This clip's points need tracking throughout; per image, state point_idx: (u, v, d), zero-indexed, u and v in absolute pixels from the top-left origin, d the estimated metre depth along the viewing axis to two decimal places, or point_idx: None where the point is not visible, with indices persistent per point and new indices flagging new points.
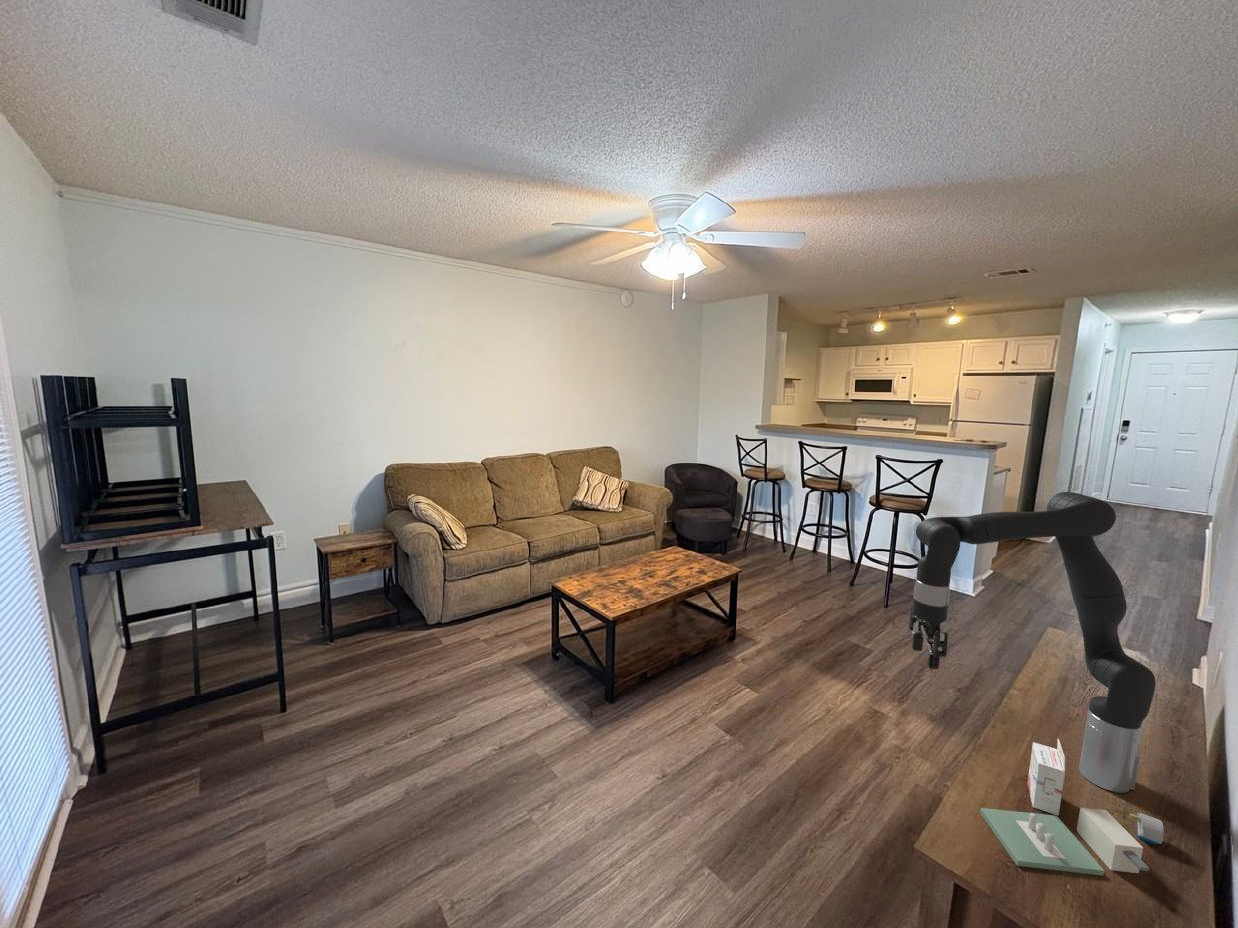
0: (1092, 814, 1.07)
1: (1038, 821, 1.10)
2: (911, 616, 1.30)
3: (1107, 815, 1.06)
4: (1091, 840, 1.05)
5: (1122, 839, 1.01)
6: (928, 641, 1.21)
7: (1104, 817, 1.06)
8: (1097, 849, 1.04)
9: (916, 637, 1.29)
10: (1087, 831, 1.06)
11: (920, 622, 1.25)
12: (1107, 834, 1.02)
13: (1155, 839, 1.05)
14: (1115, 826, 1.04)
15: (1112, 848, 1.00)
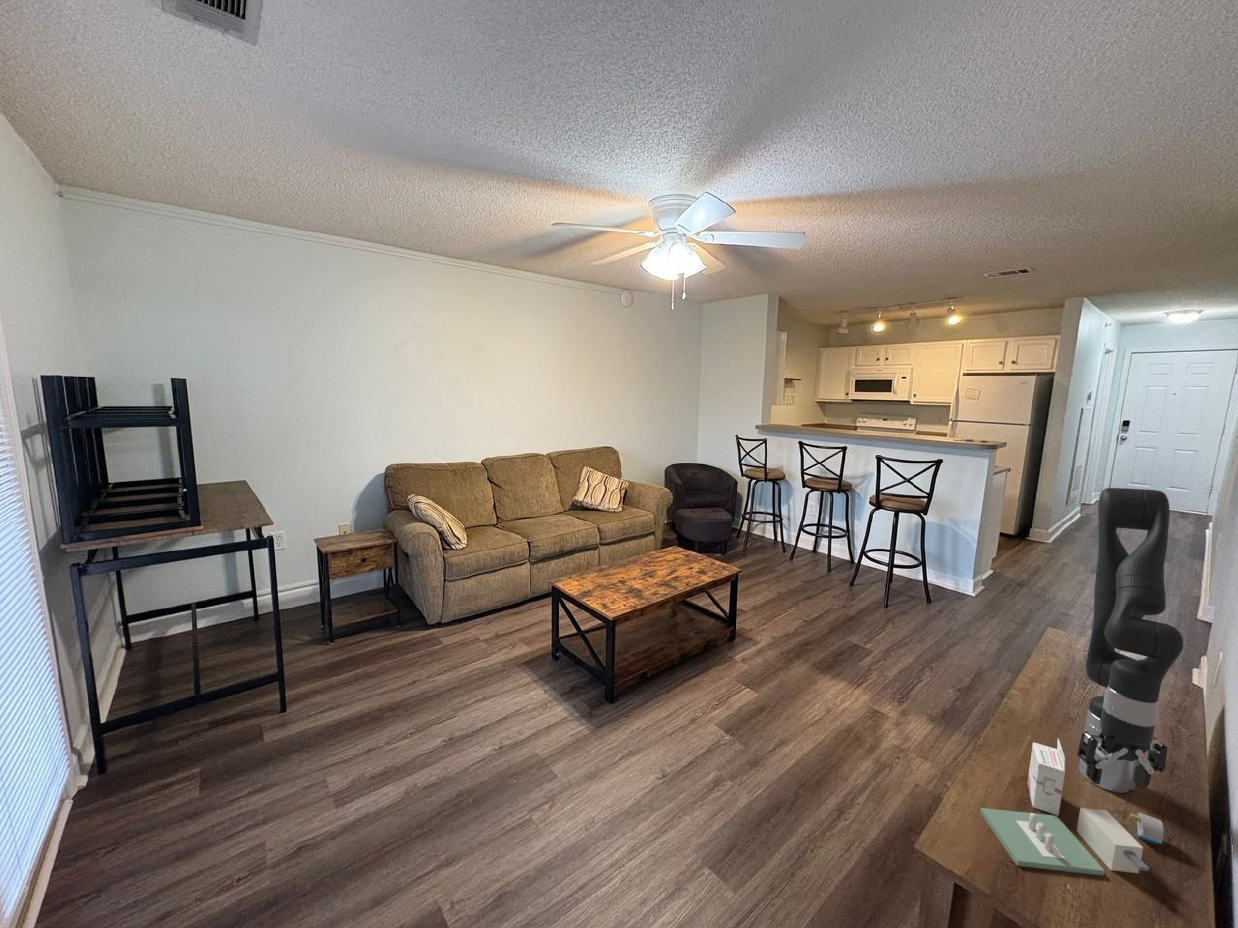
0: (1092, 814, 1.07)
1: (1038, 821, 1.10)
2: (1093, 748, 1.01)
3: (1107, 815, 1.06)
4: (1091, 840, 1.05)
5: (1122, 839, 1.01)
6: None
7: (1104, 817, 1.06)
8: (1097, 849, 1.04)
9: None
10: (1087, 831, 1.06)
11: (1125, 747, 1.00)
12: (1107, 834, 1.02)
13: (1155, 839, 1.05)
14: (1115, 826, 1.04)
15: (1112, 848, 1.00)
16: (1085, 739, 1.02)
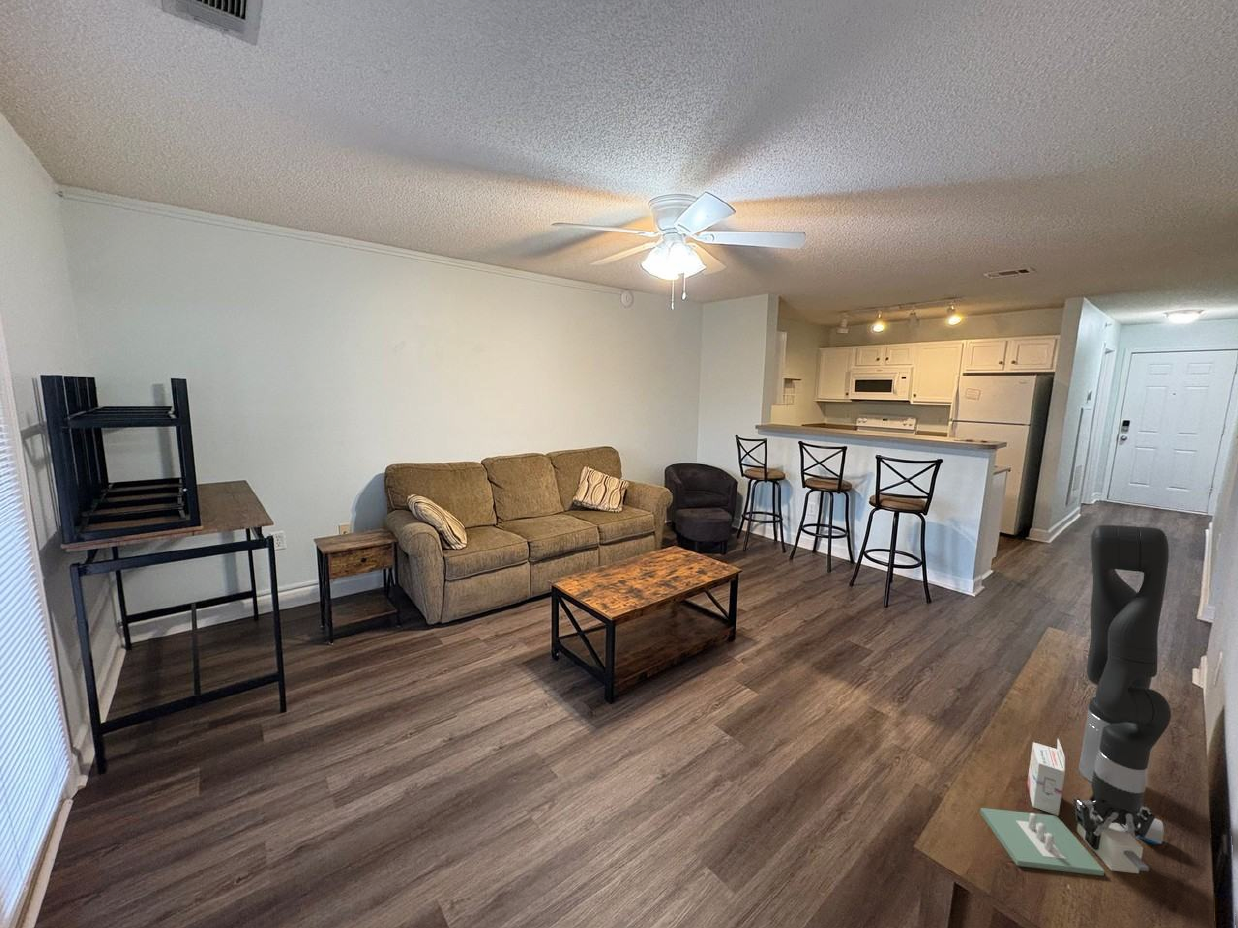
0: None
1: (1038, 821, 1.10)
2: (1086, 815, 1.03)
3: None
4: None
5: (1122, 839, 1.01)
6: None
7: None
8: None
9: None
10: None
11: (1115, 810, 1.02)
12: (1107, 834, 1.02)
13: (1155, 839, 1.05)
14: (1115, 826, 1.04)
15: (1112, 848, 1.00)
16: (1077, 806, 1.04)
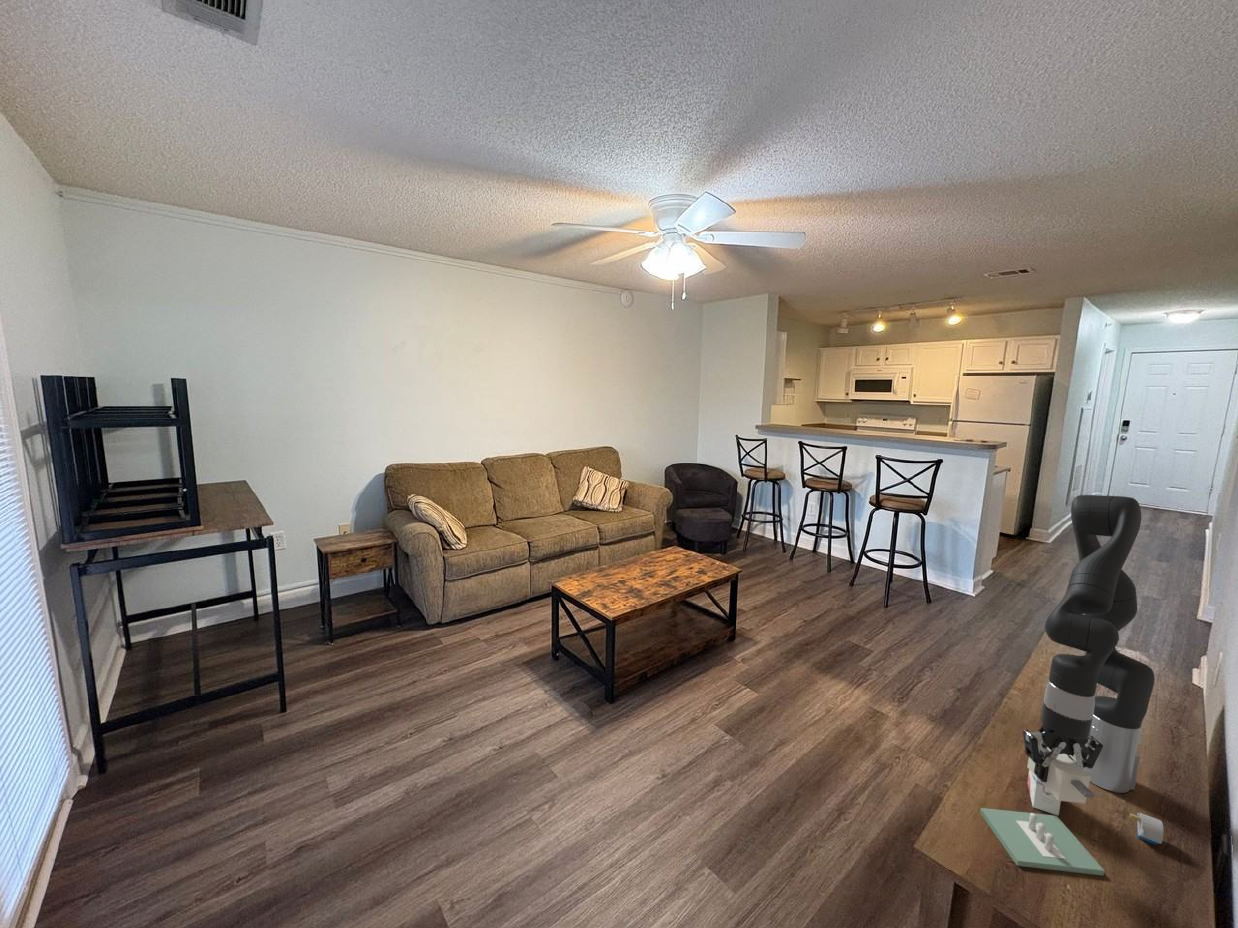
0: None
1: (1038, 821, 1.10)
2: (1035, 746, 1.02)
3: None
4: None
5: (1070, 769, 1.00)
6: None
7: None
8: None
9: None
10: None
11: (1063, 740, 1.00)
12: (1055, 765, 1.01)
13: (1155, 839, 1.05)
14: (1064, 758, 1.03)
15: (1060, 778, 0.99)
16: (1026, 738, 1.03)
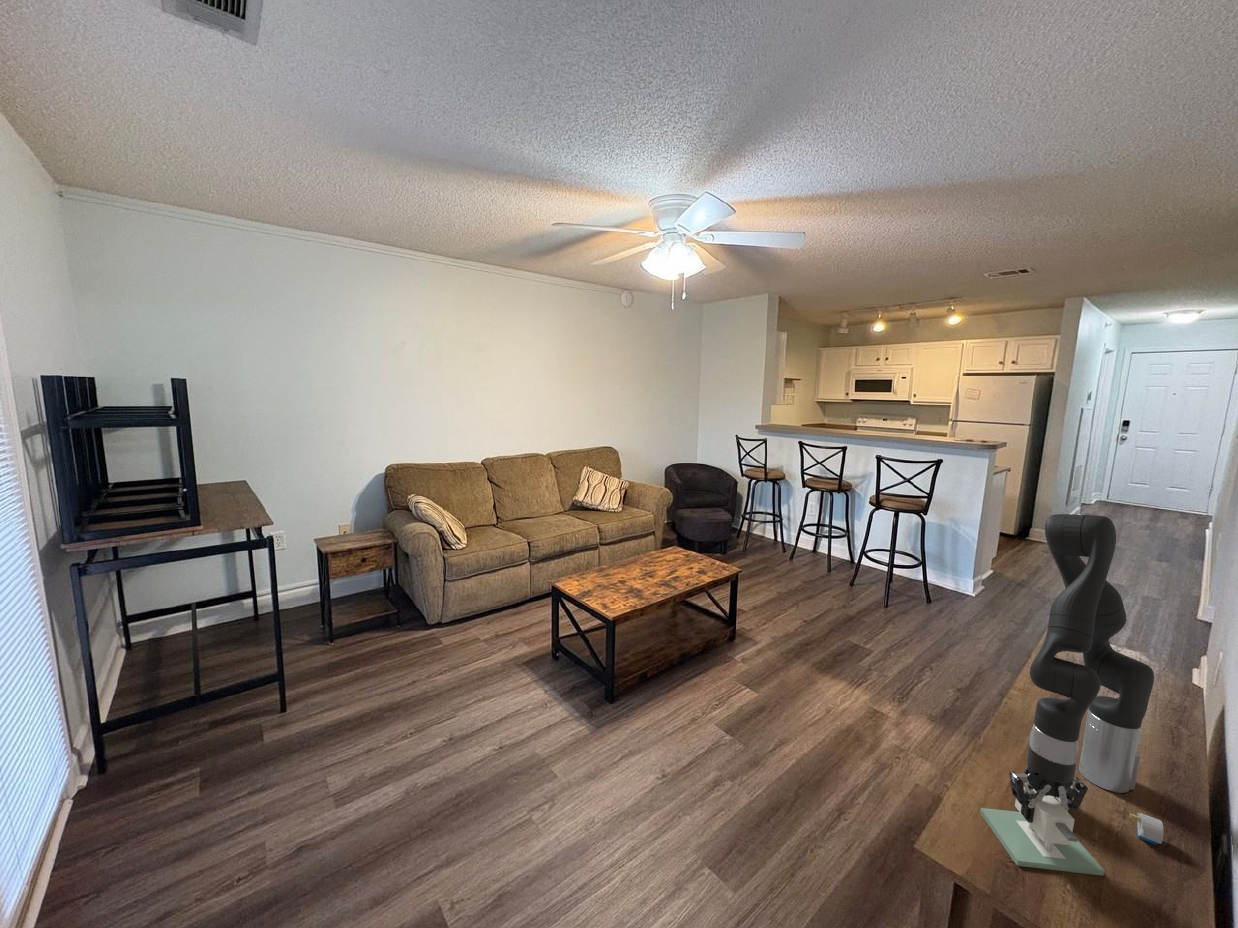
0: None
1: None
2: (1020, 788, 1.04)
3: None
4: None
5: (1055, 811, 1.02)
6: None
7: None
8: None
9: None
10: None
11: (1048, 783, 1.03)
12: (1041, 807, 1.03)
13: (1155, 839, 1.05)
14: (1050, 799, 1.05)
15: (1044, 820, 1.01)
16: (1012, 780, 1.05)
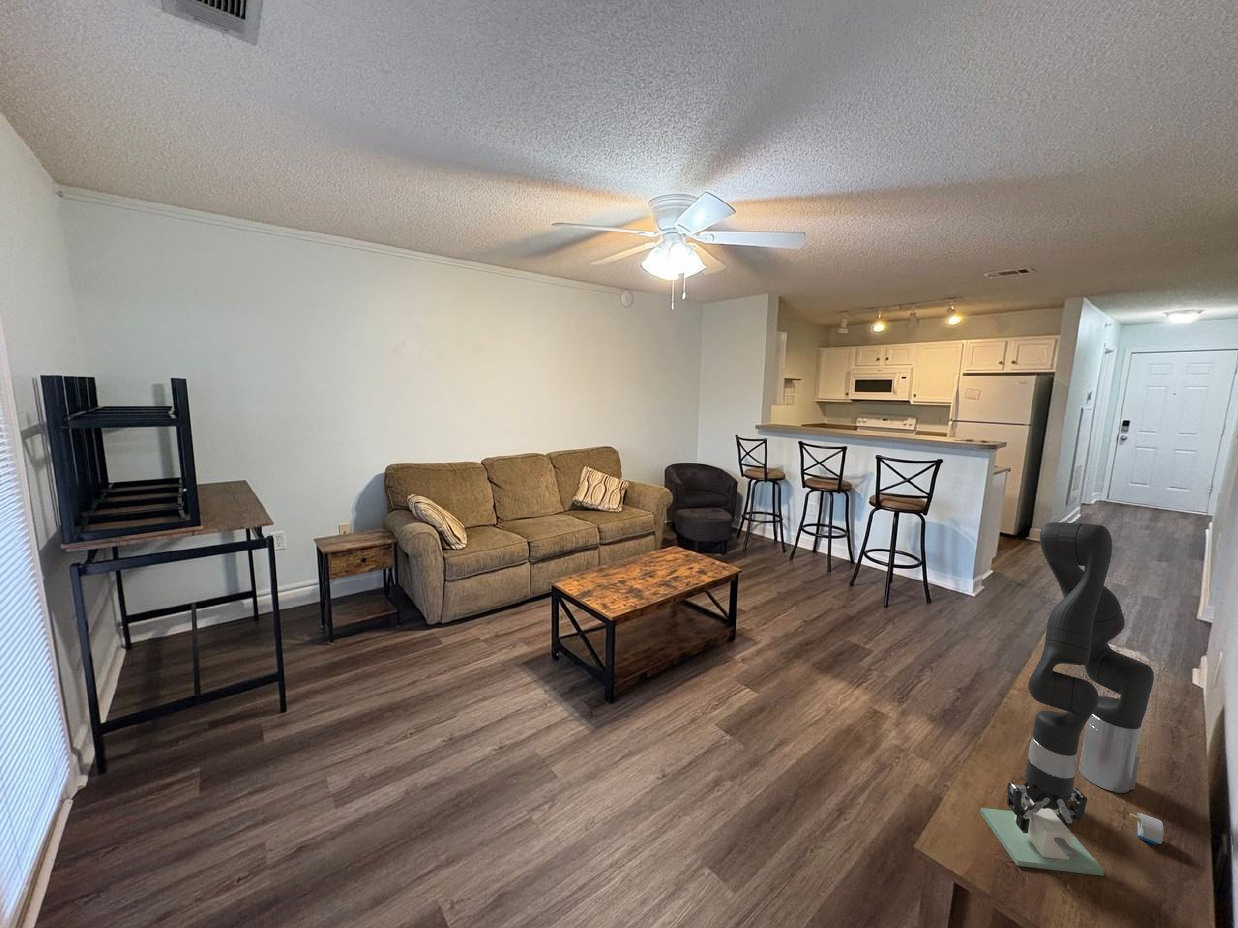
0: None
1: None
2: (1018, 799, 1.04)
3: None
4: None
5: (1053, 826, 1.02)
6: (1068, 811, 1.03)
7: None
8: (1031, 836, 1.05)
9: None
10: None
11: (1047, 796, 1.03)
12: (1039, 821, 1.03)
13: (1155, 839, 1.05)
14: (1048, 814, 1.05)
15: (1043, 835, 1.02)
16: (1011, 790, 1.05)
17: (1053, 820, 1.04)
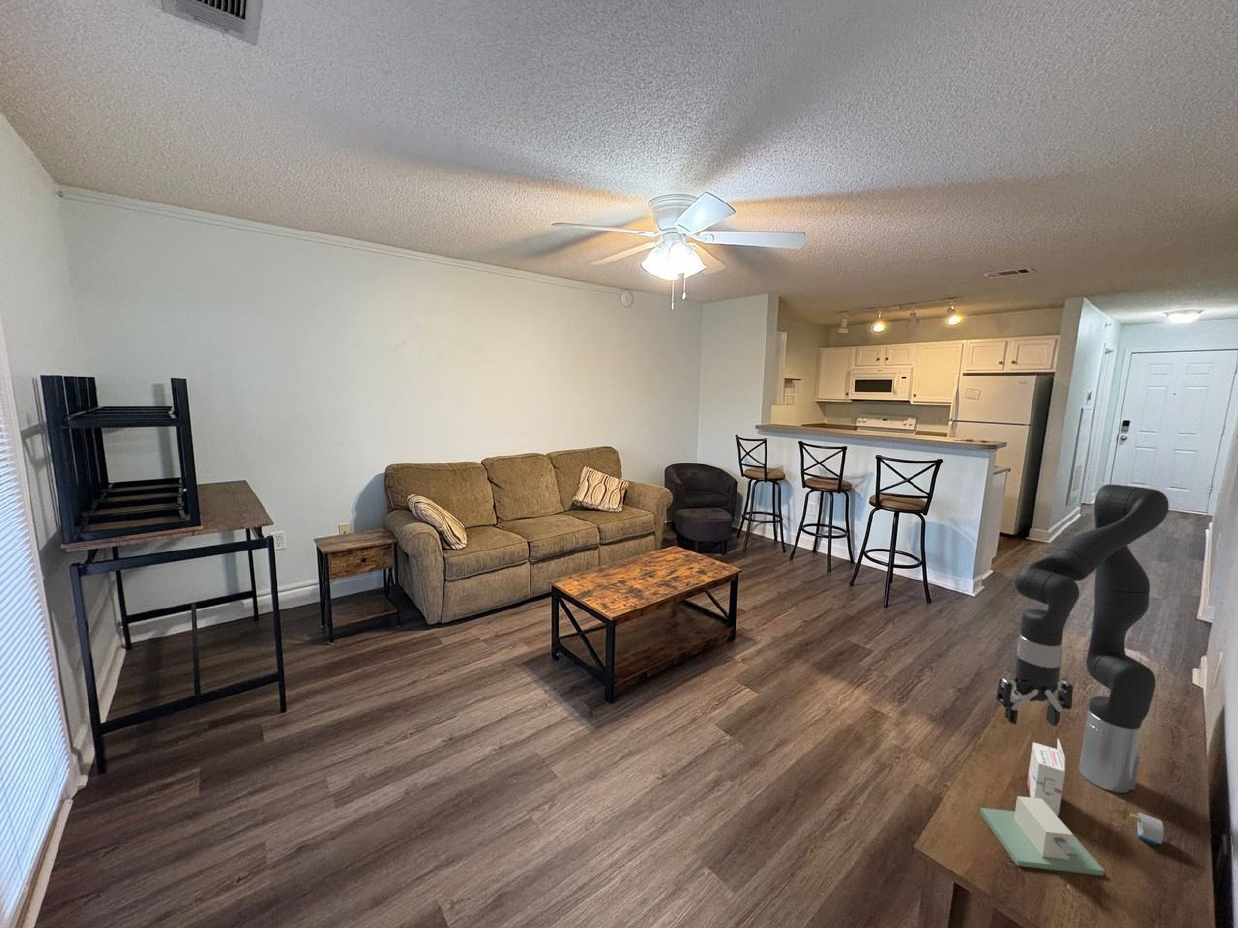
0: (1028, 802, 1.08)
1: None
2: (1008, 691, 1.10)
3: (1042, 803, 1.08)
4: (1026, 828, 1.07)
5: (1053, 826, 1.02)
6: (1057, 700, 1.09)
7: (1039, 805, 1.07)
8: (1031, 836, 1.05)
9: None
10: (1022, 819, 1.08)
11: (1036, 689, 1.09)
12: (1039, 821, 1.03)
13: (1155, 839, 1.05)
14: (1048, 814, 1.05)
15: (1043, 835, 1.02)
16: (1002, 684, 1.11)
17: (1053, 820, 1.04)
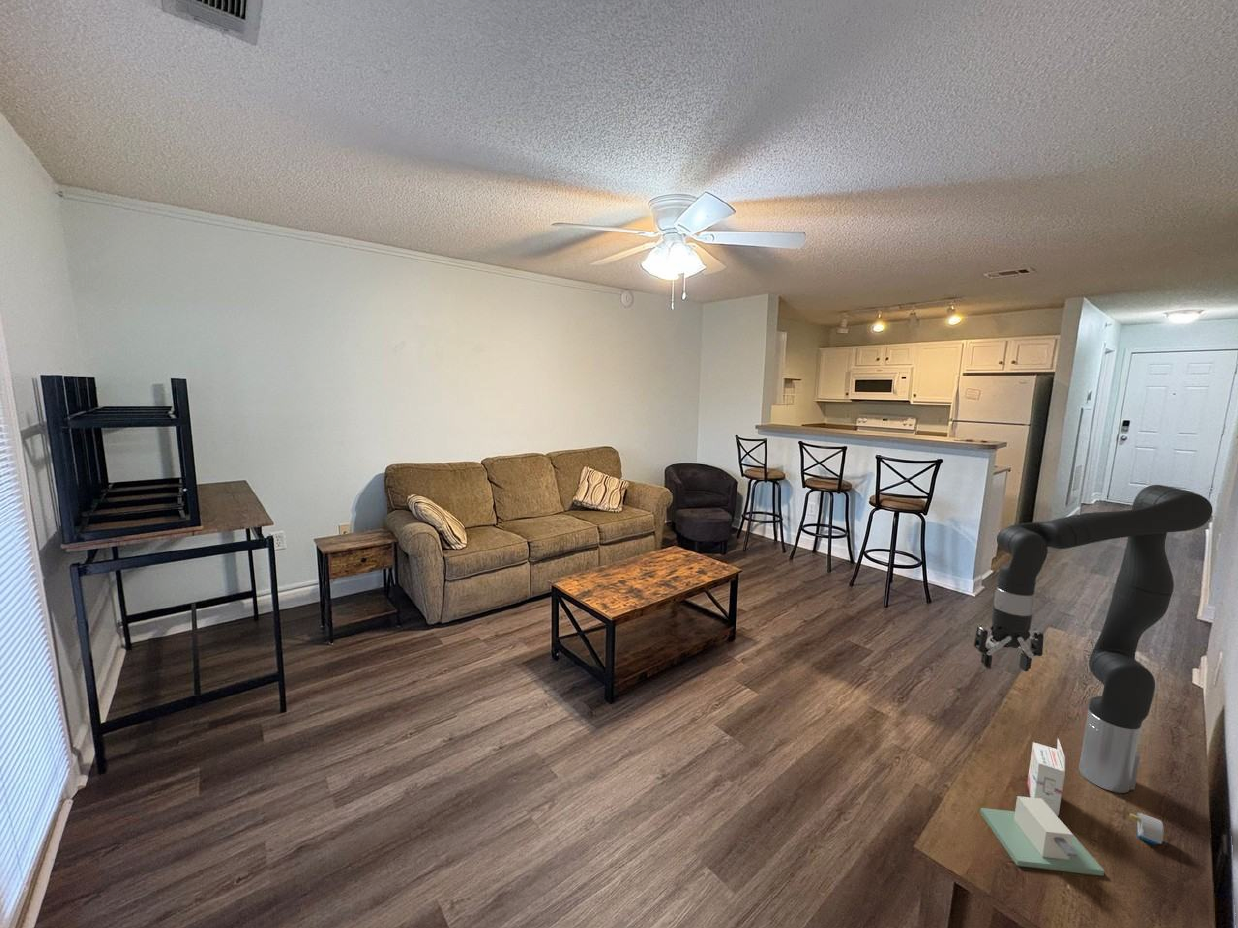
0: (1028, 802, 1.08)
1: None
2: (984, 637, 1.22)
3: (1042, 803, 1.08)
4: (1026, 828, 1.07)
5: (1053, 826, 1.02)
6: (1028, 647, 1.20)
7: (1039, 805, 1.07)
8: (1031, 836, 1.05)
9: None
10: (1022, 819, 1.08)
11: (1009, 636, 1.20)
12: (1039, 821, 1.03)
13: (1155, 839, 1.05)
14: (1048, 814, 1.05)
15: (1043, 835, 1.02)
16: (979, 631, 1.23)
17: (1053, 820, 1.04)
